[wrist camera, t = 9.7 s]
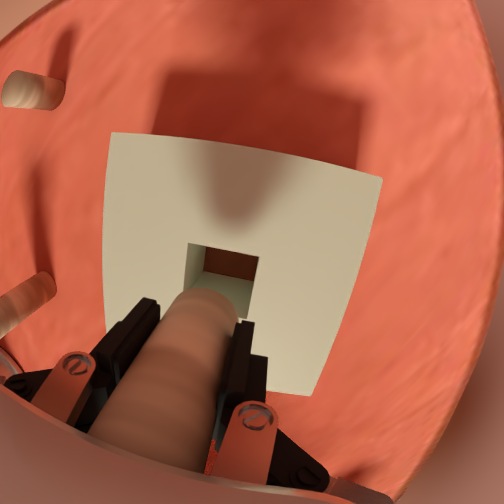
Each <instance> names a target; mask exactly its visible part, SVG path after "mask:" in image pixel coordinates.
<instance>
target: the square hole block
mask: <svg viewBox="0 0 504 504" xmlns="http://www.w3.org/2000/svg"><path fill="white" fill-rule="evenodd" d="M382 181H383V178H381V177H378V176H375V175H371V174H368V173H364V172H360V171H357V170H353V169H349V168H346V167H342V166H338V165H334V164H330V163H326V162H322V161H317V160H313V159H309V158H304V157H300V156H295V155H290V154H285V153H280V152H275V151H270V150H265V149H259V148H254V147H248V146H242V145H235V144H229V143H222V142H215V141H208V140H200V139H192V138H183V137H173V136H162V135H150V134H136V133H117V132H112V133H111V139H110V146H109V154H108V162H107V172H106V182H105V194H104V210H103V240H102V264H103V294H104V310H105V322H106V333H108V332H109V330H110V329H111V328H112V327H113V326H114V325H115V324H116V323H117V322H118V321H122V320H123V319H124V318H125V317H126V316H127V314H128V313H129V312H130V311H131V310H132V309H133V308H134V307H135V305H136V304H137V303H138V302H139V301H140V300H141V299H142V298H143V297H146V298H150V299H154V300H156V301H157V304H160V306H161V312H160V320H161V318H162V317H163V315H164V314H165V313H166V311H167V310H168V308H169V307H170V305H171V304H172V302H173V301H174V300H175V298H176V297H177V296H178V295H179V294H180V293H181V292H183V291H185V290H187V289H191V288H197V287H201V288H208V289H212V290H215V291H217V292H219V293H221V294H222V295H224V296H225V297H226V298H227V299H228V300H229V301H230V302H231V303H232V304H233V306H234V307H235V309H236V311H237V314H238V318H239V323H241V322H242V320H246V321H251V322H255V327H254V334H253V341H252V348H251V354H255V355H261V356H266V357H268V369H267V384H266V390H267V391H274V392H281V393H288V394H296V395H305V396H311V395H312V392H313V390H314V388H315V386H316V383H317V381H318V379H319V376H320V374H321V372H322V369H323V367H324V365H325V362H326V360H327V357H328V355H329V353H330V350H331V348H332V345H333V342H334V340H335V337H336V335H337V332H338V329H339V327H340V324H341V321H342V319H343V316H344V313H345V310H346V307H347V305H348V302H349V299H350V296H351V293H352V290H353V287H354V284H355V281H356V278H357V274H358V271H359V268H360V265H361V262H362V258H363V255H364V251H365V248H366V244H367V241H368V237H369V234H370V230H371V226H372V223H373V219H374V215H375V211H376V207H377V203H378V198H379V194H380V190H381V185H382ZM206 246H208V247H213V248H218V249H223V250H228V251H233V252H238V253H243V254H248V255H253V256H258V262H257V267H256V272H255V277H254V281H250V280H245V279H240V278H235V277H230V276H225V275H220V274H216V273H211V272H206V271H203V268H204V261H205V253H206Z"/></svg>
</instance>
